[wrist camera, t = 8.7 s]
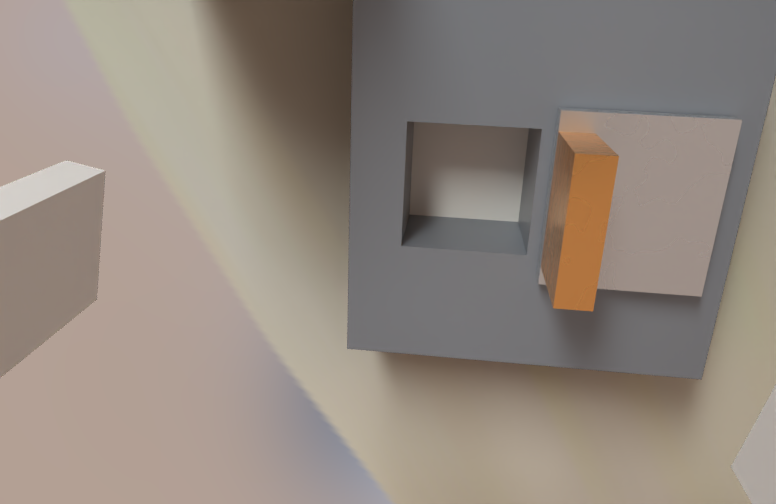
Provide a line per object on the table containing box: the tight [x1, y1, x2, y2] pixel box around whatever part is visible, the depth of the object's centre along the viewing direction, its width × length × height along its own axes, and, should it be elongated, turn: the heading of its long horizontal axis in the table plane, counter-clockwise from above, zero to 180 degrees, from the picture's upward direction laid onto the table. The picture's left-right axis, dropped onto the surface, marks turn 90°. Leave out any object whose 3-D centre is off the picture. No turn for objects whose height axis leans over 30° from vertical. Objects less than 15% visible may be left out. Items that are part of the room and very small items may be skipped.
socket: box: [347, 0, 776, 379], centre depth 29 cm, size 16×16×5 cm
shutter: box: [536, 107, 742, 311], centre depth 24 cm, size 7×7×5 cm
